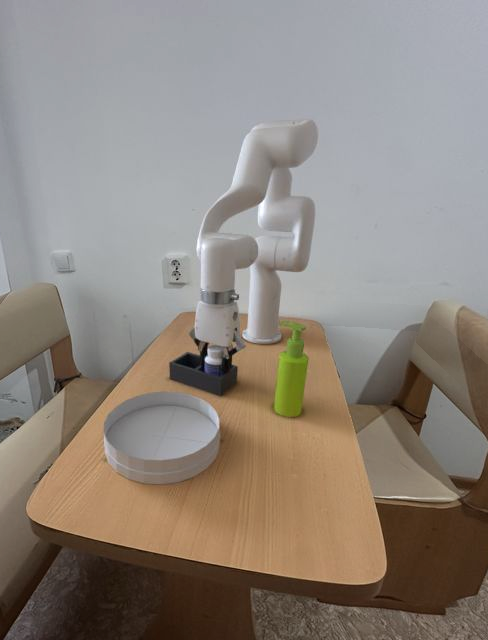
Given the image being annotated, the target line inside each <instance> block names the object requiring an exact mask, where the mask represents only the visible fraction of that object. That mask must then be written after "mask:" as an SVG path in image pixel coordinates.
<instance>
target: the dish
mask: <svg viewBox="0 0 488 640" xmlns="http://www.w3.org/2000/svg"><path fill="white" fill-rule="evenodd" d="M220 442H221V430H220V417H219V416H218V412H217V411H216V409H214V407H213V406H212V405H211V404H210V403H209V402H207V401H206V400H204V399H203V398H200V397H198V396H195V395H192V394H189V393H184V392H179V391H156V392H155V391H154V392H153V391H152V392H147V393H142V394H138V395H136V396H133V397H131V398H128V399H125V400H124V401H122V402H120V403H119V404H118V405H115V407H114V408H113V409H112V410H111V411H110V412H109V413H108V414H107V416H106V418H105V420H104V421H103V447H104V455H105V458H106V460H107V463H108V465H109V466H110V467H111V468H112V469H113V470H114V471H115V472H116V474H118V475H121V476H122V477H124V478H126V479H128V480H130V481H133V482H137V483H140V484H145V485H161V486H162V485H169V484H175V483H180V482H181V483H182V482H184V481H187V480H190V479H192V478H195V477H196V476H198V475H199V474H202V472H204V471H206V470H207V469H208V468H209V467H210V466H211V465H212V464H213V463H214V462H215V461H216V458H217V456H218V454H219V453H220V445H221V443H220Z"/></svg>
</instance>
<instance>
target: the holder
mask: <svg viewBox="0 0 488 640" xmlns="http://www.w3.org/2000/svg"><path fill="white" fill-rule="evenodd" d="M168 364H169V365H168V367H169V368H168V369H169V379H170V380H172V381H175V382H178V383H181V384H184V385H187V386H189V387H193V388H196V389H198V390H201V391H204V392H207V393H209V394H213V395H216V396H219V397H222V396H223V395H224V394H225V393H227V391H229V390H230V389H231V388H232V387H233V386H235V384H237V383H238V370H239V369H238V367H239V366H238V365H235V364H232V367H231V369H230V370H229V371H227V372H226V373H225V374H223V375H222V376H221V377H219V376H215V375H212V374H209V373H206V372H205V366H204V367H201V361H200V354H197V353H193V352H189V351H187V352H184V353H183V354H181V355H180V356H178V357H176V358H175V359H174V360H172V361H170V362H169V363H168Z"/></svg>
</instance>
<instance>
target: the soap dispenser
mask: <svg viewBox="0 0 488 640" xmlns="http://www.w3.org/2000/svg"><path fill="white" fill-rule="evenodd" d="M278 327H285V328H290V329H292V333H291V337H290V338H288V339H287V340H286V350H284V351H282V352H280V353H279V355H278V366H277V377H276V385H275V393H274V394H275V395H274V402H273V403H274V404H273V410H274V412H275V413H276V414H278V415H280V416H282V417H285V418H295V417H298V416H300V415H301V413H302V409H303V401H304V396H305V395H304V394H305V388H306V381H307V373H308V366H309V356H308V355H307V354H306V353H304V349H305V340H304V339H302V338H301V337H302V332H303V331H306V329H307V326H306V325H304V324H300V323H298V322H295V321H289V320H288V321H286V320H285V321H280V323H279V324H278Z"/></svg>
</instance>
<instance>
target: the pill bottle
mask: <svg viewBox="0 0 488 640" xmlns="http://www.w3.org/2000/svg"><path fill="white" fill-rule="evenodd" d="M207 352H208V355H207V356H206V357H205V372H206V373H209V374H212V375H215V376H219V377H221V376H222V375H223V374H225V373H222V358H223V357H224V353H223V349H222V346H219V345H215V344H212V345H210V346H209V345H208V351H207Z"/></svg>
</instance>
